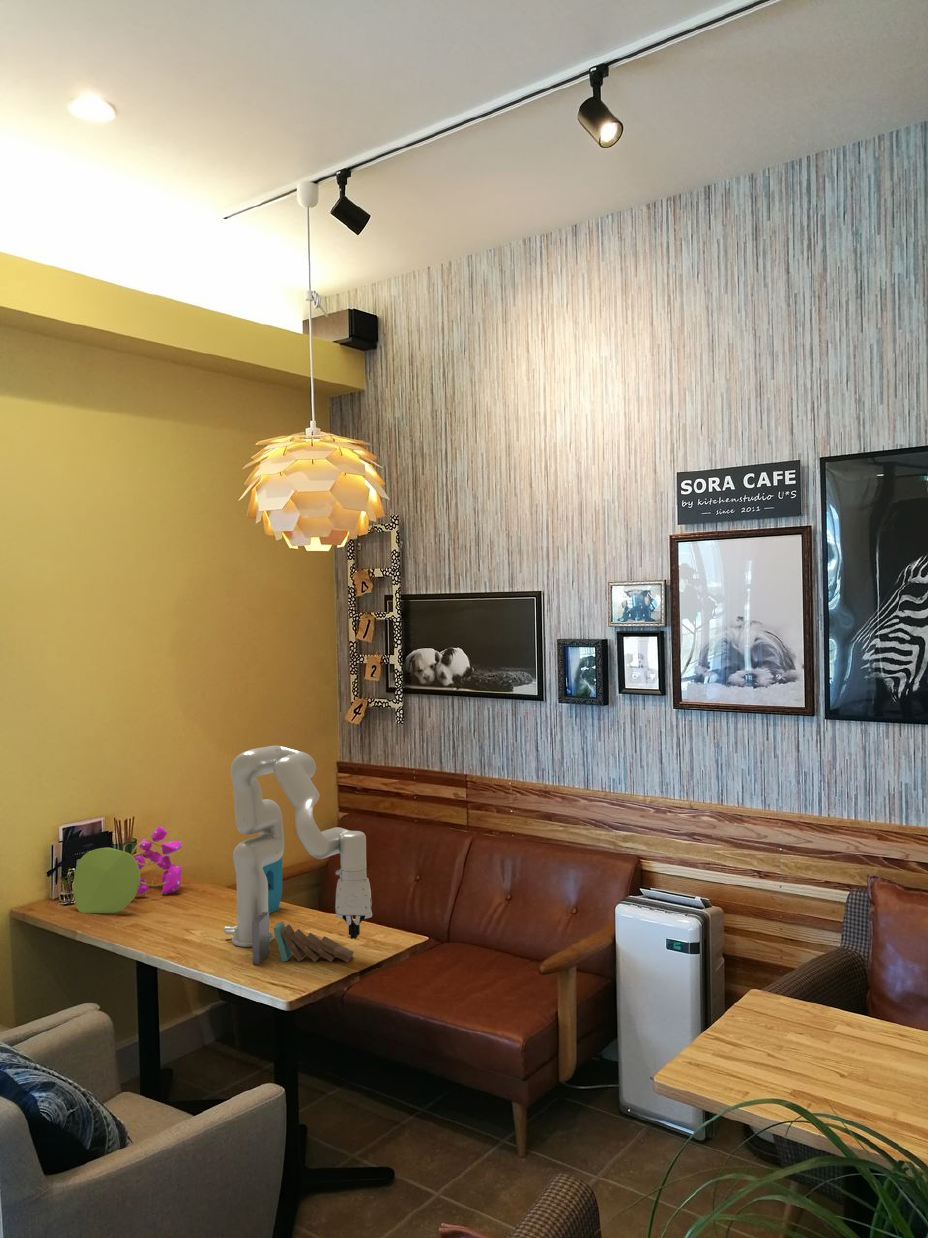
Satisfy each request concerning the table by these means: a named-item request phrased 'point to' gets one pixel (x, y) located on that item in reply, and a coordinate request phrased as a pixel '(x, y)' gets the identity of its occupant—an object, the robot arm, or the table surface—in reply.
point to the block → (274, 884)
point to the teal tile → (282, 942)
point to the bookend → (260, 937)
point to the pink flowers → (122, 875)
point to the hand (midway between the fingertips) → (354, 937)
